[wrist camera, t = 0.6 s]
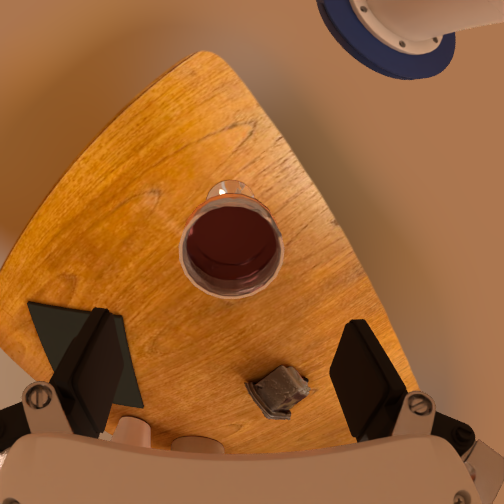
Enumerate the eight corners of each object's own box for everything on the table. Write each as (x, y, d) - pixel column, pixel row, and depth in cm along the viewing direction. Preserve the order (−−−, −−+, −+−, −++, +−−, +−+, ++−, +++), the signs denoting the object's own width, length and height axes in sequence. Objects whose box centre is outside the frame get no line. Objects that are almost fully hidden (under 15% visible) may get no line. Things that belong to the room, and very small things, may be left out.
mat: (28, 301, 32) (26, 303, 32) (122, 315, 34) (120, 318, 33) (65, 389, 40) (64, 392, 40) (143, 406, 42) (143, 408, 41)
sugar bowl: (245, 455, 51) (250, 514, 38) (207, 465, 53) (207, 519, 40) (199, 430, 46) (197, 500, 32) (160, 442, 48) (152, 503, 34)
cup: (156, 413, 43) (146, 476, 31) (163, 438, 47) (157, 493, 35) (104, 405, 42) (87, 463, 30) (117, 431, 46) (106, 483, 34)
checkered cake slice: (322, 391, 43) (326, 404, 32) (290, 418, 43) (283, 437, 32) (285, 351, 47) (277, 352, 36) (254, 378, 46) (236, 385, 35)
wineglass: (203, 165, 27) (186, 191, 16) (271, 179, 28) (298, 214, 17) (192, 229, 30) (172, 290, 19) (255, 241, 31) (270, 306, 20)
